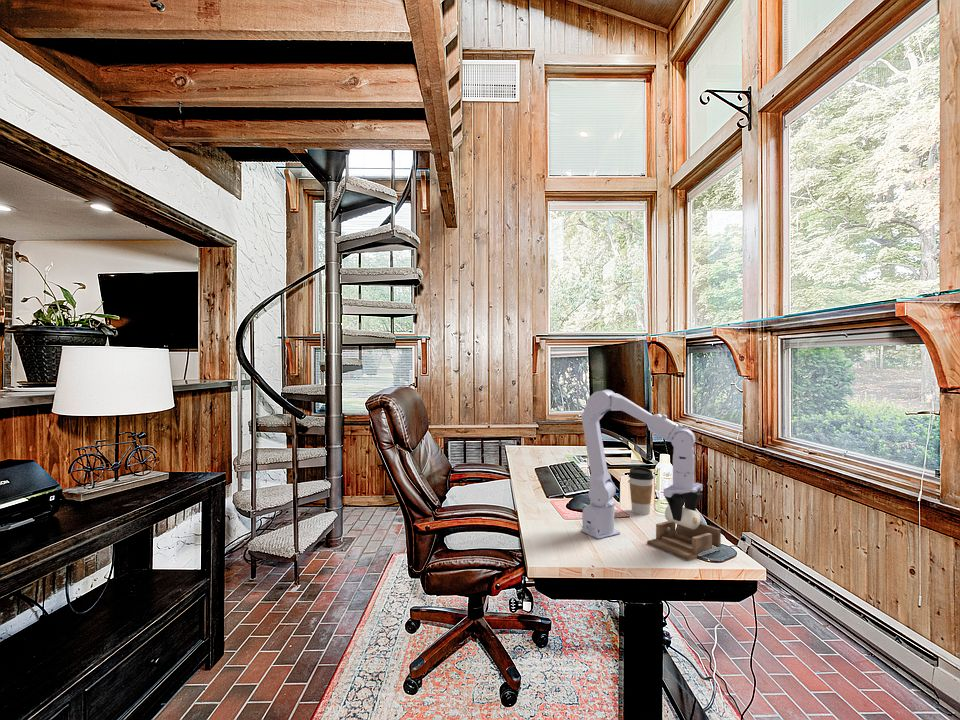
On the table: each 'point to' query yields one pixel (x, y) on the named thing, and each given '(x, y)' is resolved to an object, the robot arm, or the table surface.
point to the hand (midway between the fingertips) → (683, 518)
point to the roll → (684, 518)
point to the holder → (685, 539)
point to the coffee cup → (640, 489)
